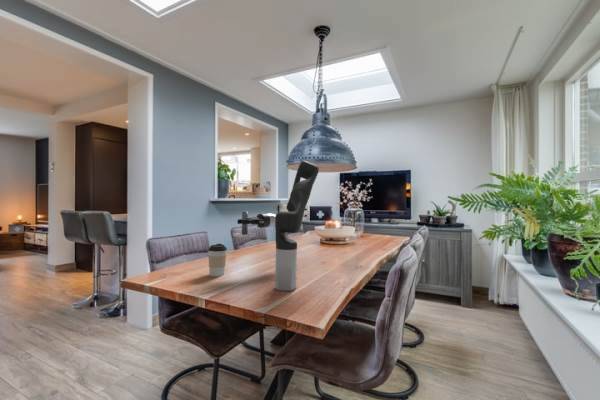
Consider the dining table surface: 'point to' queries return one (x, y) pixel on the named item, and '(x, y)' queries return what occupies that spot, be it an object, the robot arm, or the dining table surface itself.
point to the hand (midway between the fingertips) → (240, 221)
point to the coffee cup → (217, 259)
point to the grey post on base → (244, 228)
